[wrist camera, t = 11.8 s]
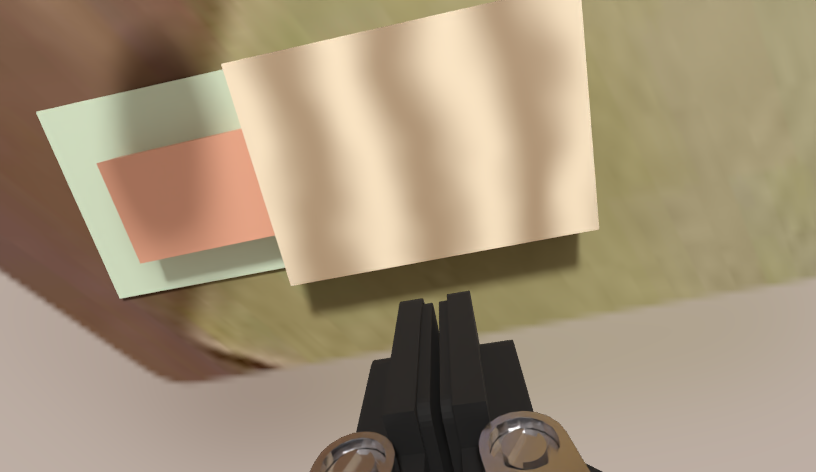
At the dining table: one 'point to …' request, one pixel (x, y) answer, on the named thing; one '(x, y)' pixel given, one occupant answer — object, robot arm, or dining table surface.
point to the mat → (135, 132)
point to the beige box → (422, 138)
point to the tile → (188, 196)
